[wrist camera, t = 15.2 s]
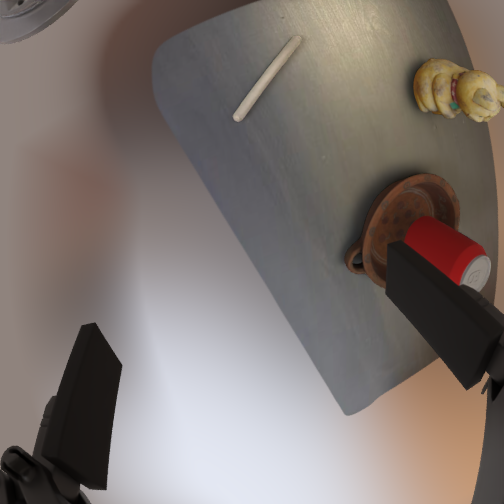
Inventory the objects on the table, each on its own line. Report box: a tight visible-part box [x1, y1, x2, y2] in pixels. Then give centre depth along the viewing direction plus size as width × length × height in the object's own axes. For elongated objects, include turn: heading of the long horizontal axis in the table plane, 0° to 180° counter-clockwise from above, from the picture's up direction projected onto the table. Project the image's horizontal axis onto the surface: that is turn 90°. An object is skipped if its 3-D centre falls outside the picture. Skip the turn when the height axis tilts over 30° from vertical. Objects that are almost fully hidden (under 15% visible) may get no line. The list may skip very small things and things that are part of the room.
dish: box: [344, 173, 460, 289], centre depth 40 cm, size 18×22×5 cm
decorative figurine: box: [413, 58, 504, 122], centre depth 27 cm, size 10×8×15 cm
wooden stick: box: [233, 36, 302, 122], centre depth 30 cm, size 1×13×1 cm, turn 146°
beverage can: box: [404, 216, 491, 292], centre depth 32 cm, size 7×7×12 cm
